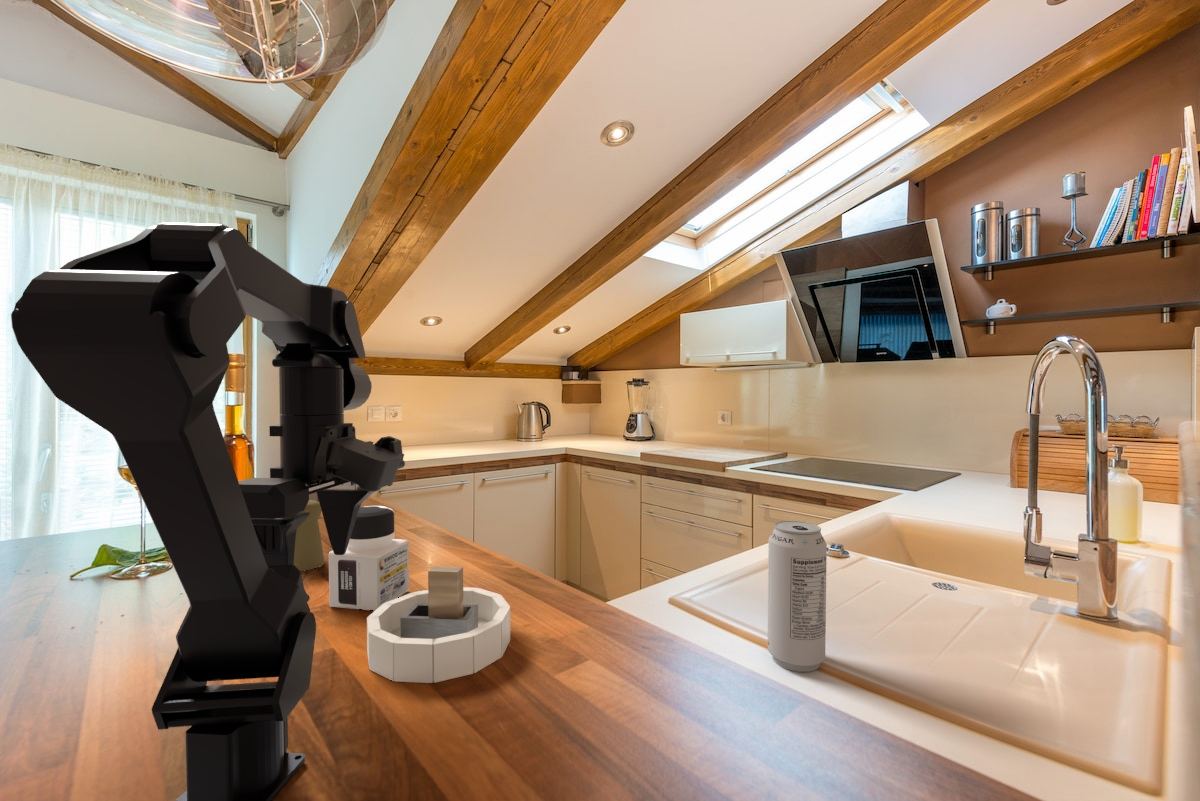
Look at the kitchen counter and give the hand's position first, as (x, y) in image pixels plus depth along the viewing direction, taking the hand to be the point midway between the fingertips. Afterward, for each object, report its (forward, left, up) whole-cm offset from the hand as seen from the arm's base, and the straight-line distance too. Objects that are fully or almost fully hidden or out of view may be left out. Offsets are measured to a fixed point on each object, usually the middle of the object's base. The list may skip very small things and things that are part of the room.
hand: (314, 568), depth 55 cm
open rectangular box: (+9, -10, -12) cm, 18 cm away
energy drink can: (+8, -50, -12) cm, 52 cm away
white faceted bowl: (+9, -10, -12) cm, 18 cm away
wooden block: (+9, -10, -11) cm, 17 cm away
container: (+22, +5, -12) cm, 26 cm away
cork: (+35, +23, -12) cm, 44 cm away
